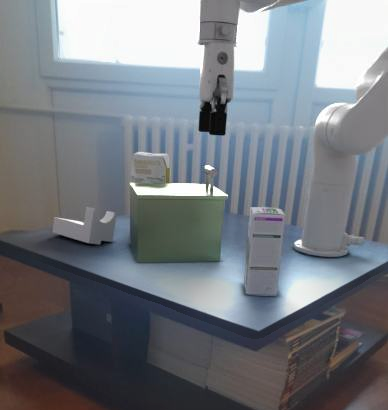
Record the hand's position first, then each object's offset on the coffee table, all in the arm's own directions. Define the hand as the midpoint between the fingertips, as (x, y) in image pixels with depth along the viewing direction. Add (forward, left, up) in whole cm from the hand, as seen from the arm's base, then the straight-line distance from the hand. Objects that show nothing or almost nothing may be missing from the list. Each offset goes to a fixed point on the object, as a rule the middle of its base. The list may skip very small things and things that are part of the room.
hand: (211, 133), depth 103 cm
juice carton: (+13, -14, -25) cm, 31 cm away
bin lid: (+7, +2, -12) cm, 14 cm away
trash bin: (+7, +2, -25) cm, 26 cm away
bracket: (+28, -7, -25) cm, 38 cm away
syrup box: (-9, +25, -25) cm, 37 cm away
